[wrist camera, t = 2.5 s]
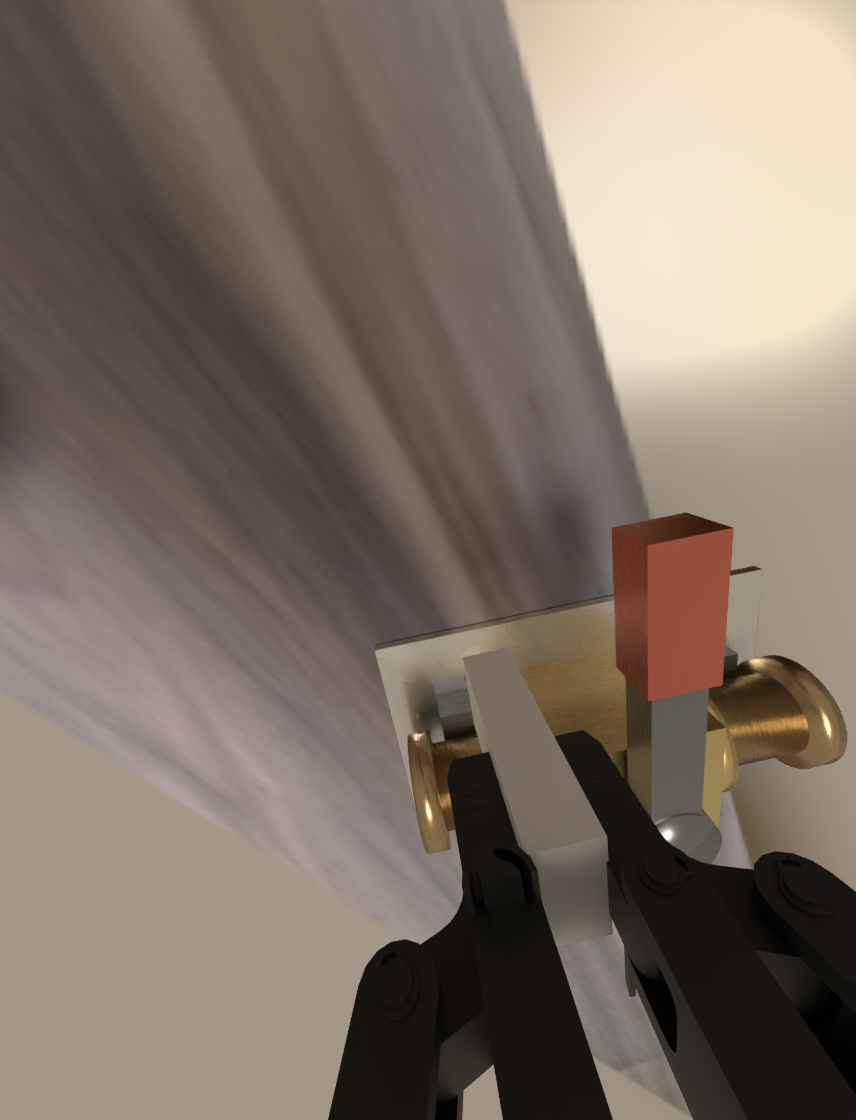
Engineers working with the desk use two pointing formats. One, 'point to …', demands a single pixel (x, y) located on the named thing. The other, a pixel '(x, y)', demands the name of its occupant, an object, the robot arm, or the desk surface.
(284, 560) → the desk surface
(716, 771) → the valve body
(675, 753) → the lever
